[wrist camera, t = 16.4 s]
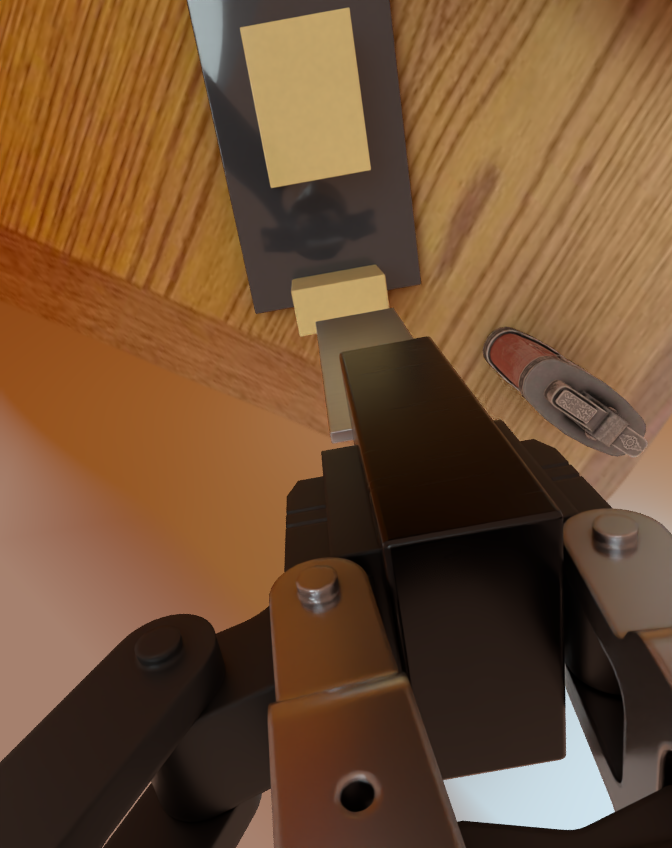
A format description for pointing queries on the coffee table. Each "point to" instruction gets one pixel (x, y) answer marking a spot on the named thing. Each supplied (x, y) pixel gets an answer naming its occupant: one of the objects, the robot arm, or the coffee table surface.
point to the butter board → (315, 206)
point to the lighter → (566, 393)
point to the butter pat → (338, 296)
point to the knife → (454, 547)
